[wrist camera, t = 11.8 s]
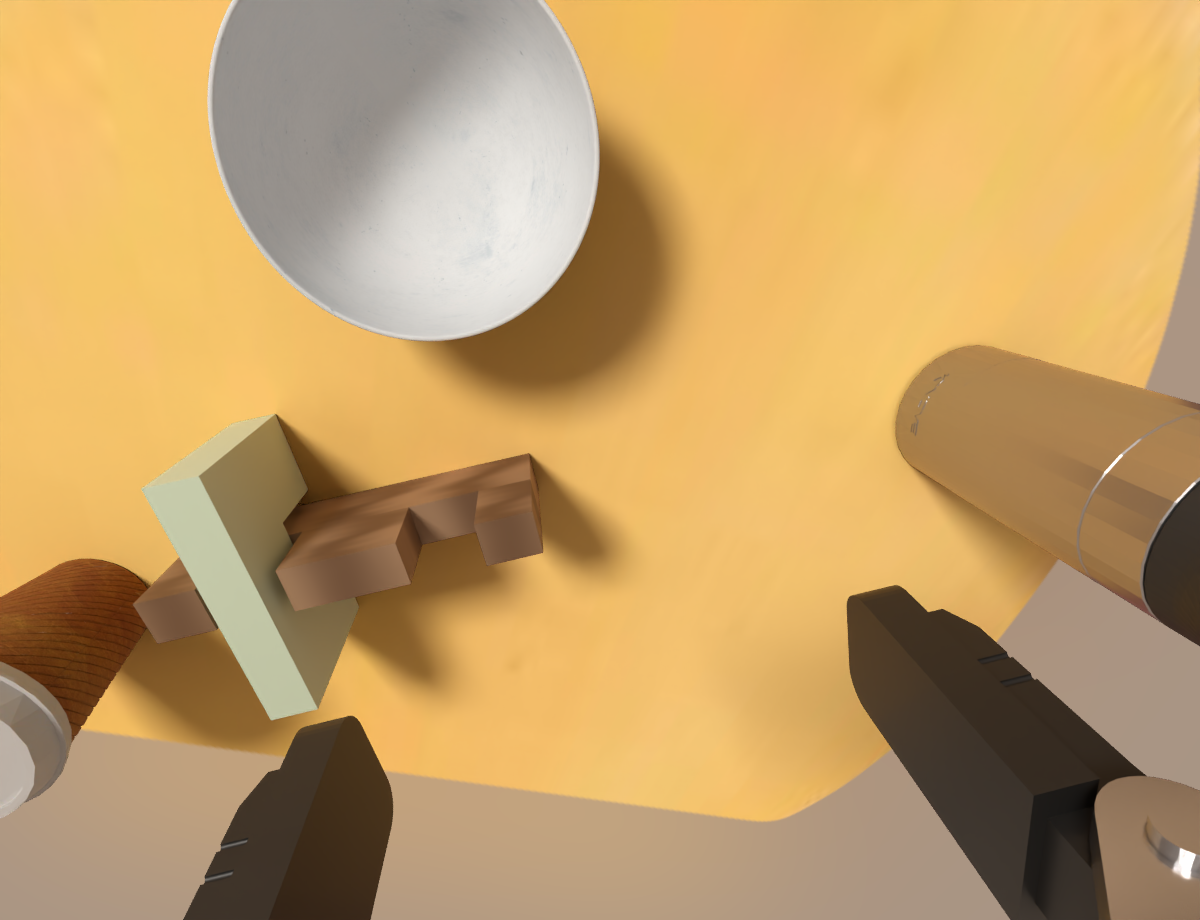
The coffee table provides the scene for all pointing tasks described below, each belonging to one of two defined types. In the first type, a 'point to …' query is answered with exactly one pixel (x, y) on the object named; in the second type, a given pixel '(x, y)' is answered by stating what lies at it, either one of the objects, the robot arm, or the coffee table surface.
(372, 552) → the rail
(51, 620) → the disposable coffee cup
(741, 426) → the coffee table surface
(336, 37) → the chinaware
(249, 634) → the cross piece
